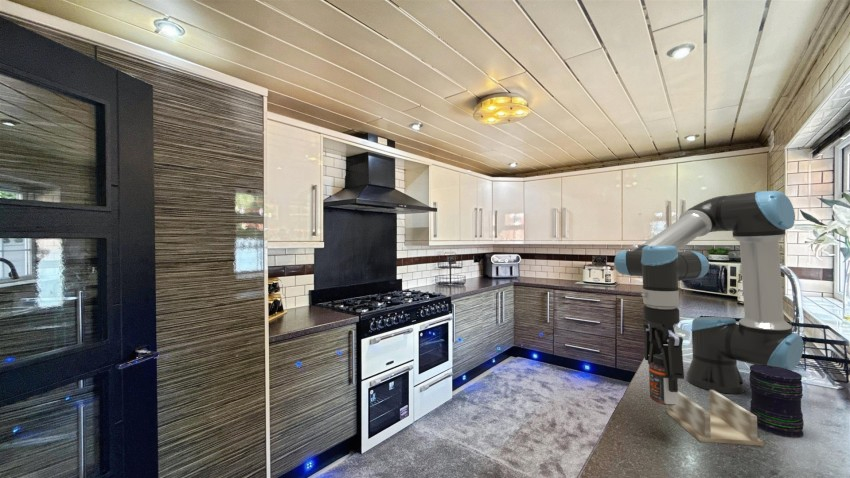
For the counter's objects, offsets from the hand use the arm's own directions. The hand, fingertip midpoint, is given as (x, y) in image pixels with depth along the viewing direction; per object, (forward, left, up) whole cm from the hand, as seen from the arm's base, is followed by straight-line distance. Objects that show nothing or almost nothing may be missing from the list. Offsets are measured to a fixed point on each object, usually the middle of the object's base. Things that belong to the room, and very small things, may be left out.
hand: (663, 397), depth 86 cm
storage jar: (-32, -9, -10) cm, 34 cm away
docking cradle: (-15, -7, -10) cm, 19 cm away
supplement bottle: (0, 0, -1) cm, 1 cm away
